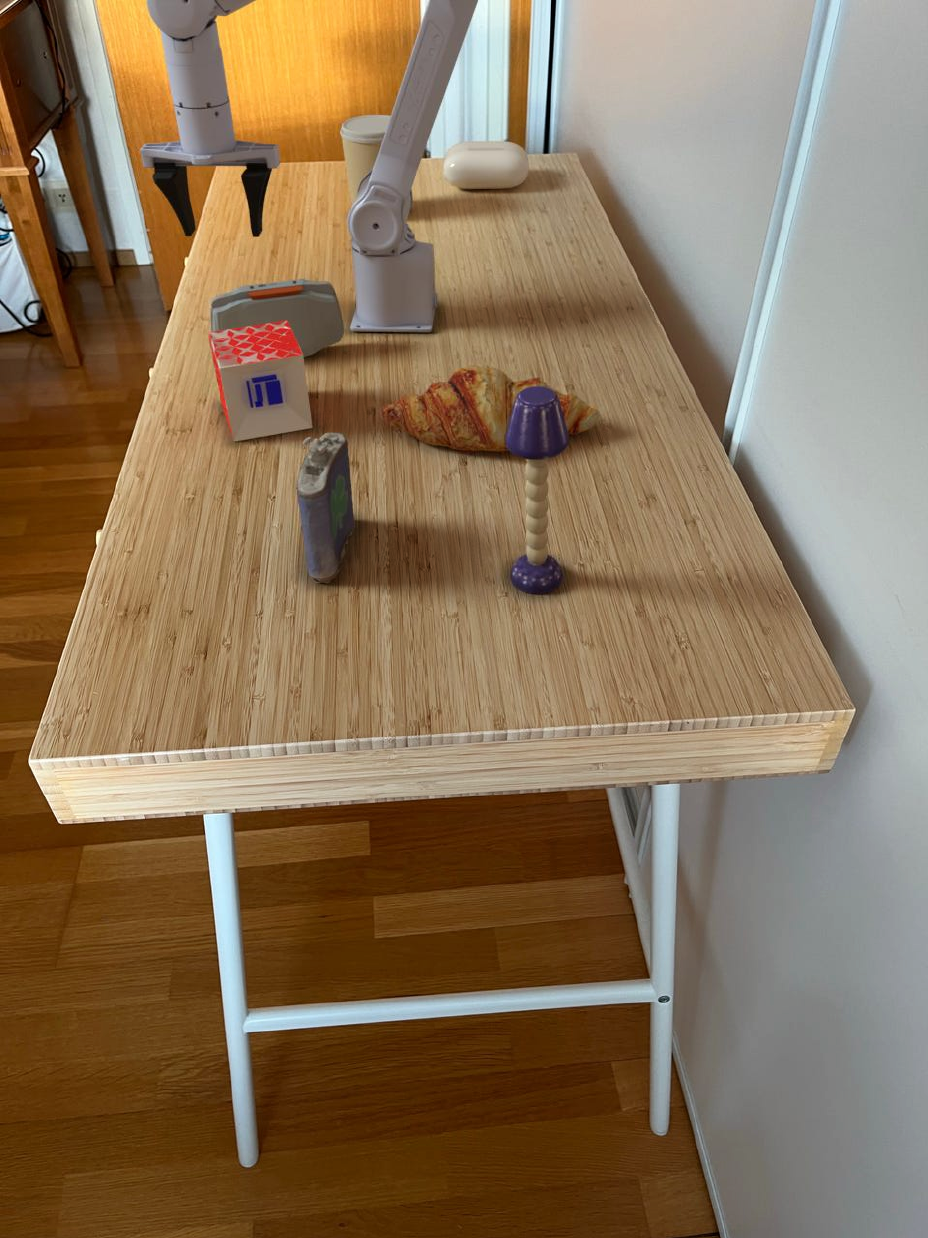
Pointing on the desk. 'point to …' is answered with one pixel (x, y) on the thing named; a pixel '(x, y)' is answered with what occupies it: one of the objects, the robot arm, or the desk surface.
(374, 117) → the coffee cup
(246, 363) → the white and red cube
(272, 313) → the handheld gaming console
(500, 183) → the earbud case
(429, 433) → the croissant
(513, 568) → the toy lamp
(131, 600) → the desk surface
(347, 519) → the flask
